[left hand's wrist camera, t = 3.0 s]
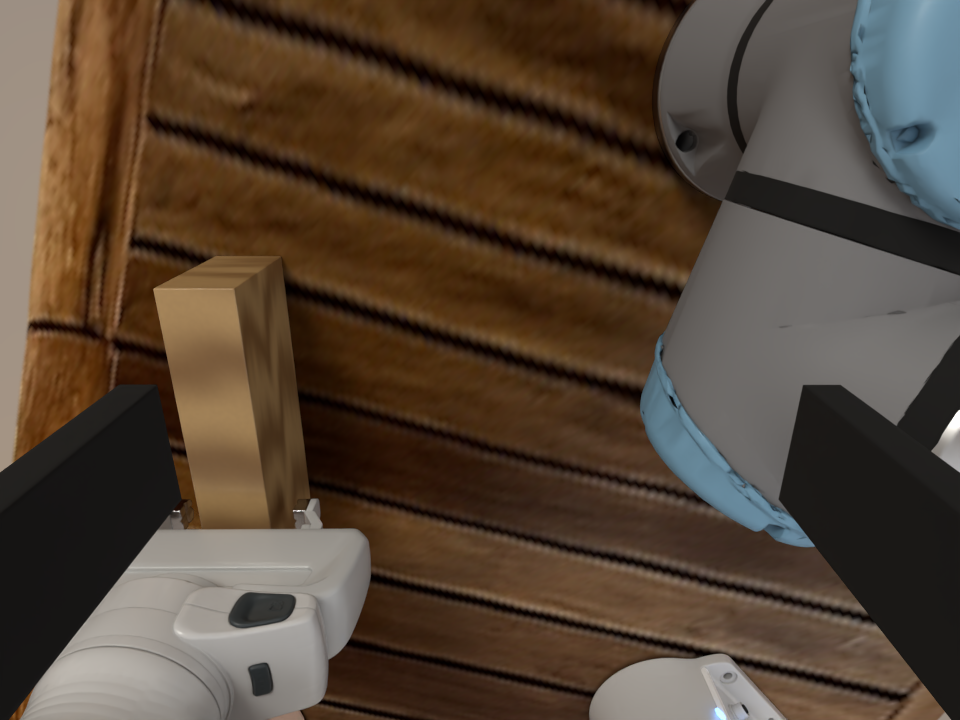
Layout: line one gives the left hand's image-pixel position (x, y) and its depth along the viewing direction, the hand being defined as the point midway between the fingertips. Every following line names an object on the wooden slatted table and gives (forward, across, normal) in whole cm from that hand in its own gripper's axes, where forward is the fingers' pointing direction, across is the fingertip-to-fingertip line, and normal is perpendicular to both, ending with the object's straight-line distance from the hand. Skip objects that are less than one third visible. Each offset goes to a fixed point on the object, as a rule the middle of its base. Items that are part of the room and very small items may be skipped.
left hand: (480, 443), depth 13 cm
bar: (+34, -17, -14) cm, 40 cm away
